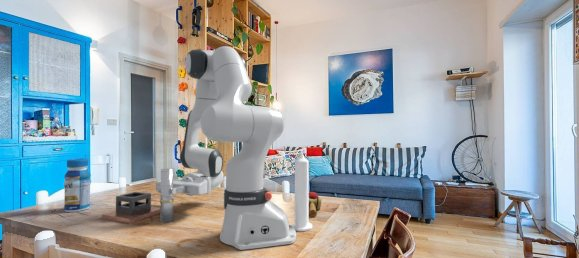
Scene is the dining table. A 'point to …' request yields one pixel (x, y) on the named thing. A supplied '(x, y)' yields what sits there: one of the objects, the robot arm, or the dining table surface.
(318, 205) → the kendama
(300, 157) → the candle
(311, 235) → the dining table surface
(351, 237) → the dining table surface
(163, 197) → the steel tube
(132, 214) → the collar stand
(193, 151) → the robot arm
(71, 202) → the blue pill bottle
